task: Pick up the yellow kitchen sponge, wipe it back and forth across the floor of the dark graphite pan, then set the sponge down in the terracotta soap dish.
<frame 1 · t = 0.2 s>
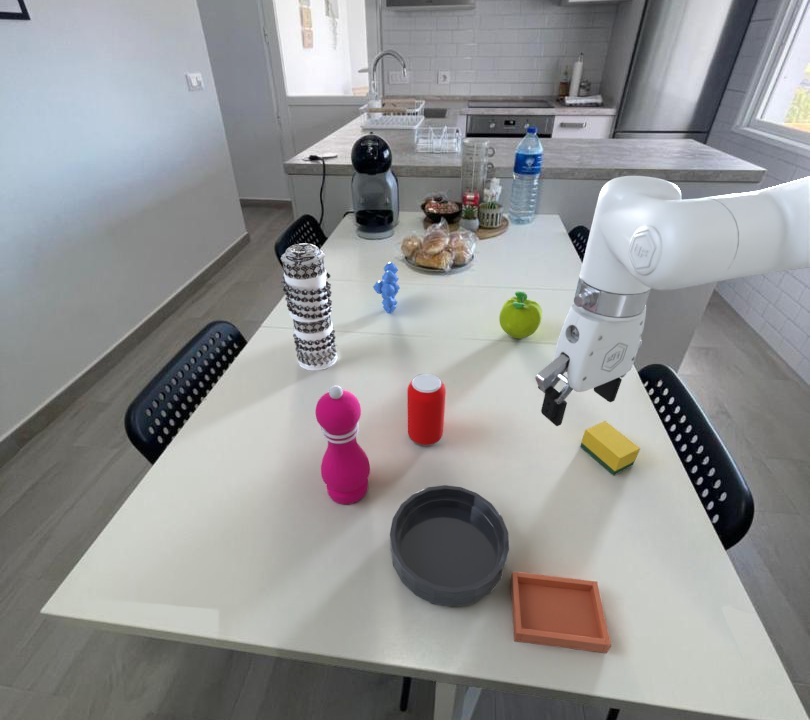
hand: (577, 407, 61), 15 cm above the table, tool pointing down, fingers open, 9 cm apart
pan: (447, 550, 60), on the table
pepper mill: (348, 488, 69), on the table
sponge: (605, 455, 74), on the table
grapes: (387, 309, 115), on the table
fruit: (517, 336, 104), on the table
beverage can: (425, 436, 78), on the table
decorative candle: (317, 359, 97), on the table
soap dish: (555, 614, 53), on the table
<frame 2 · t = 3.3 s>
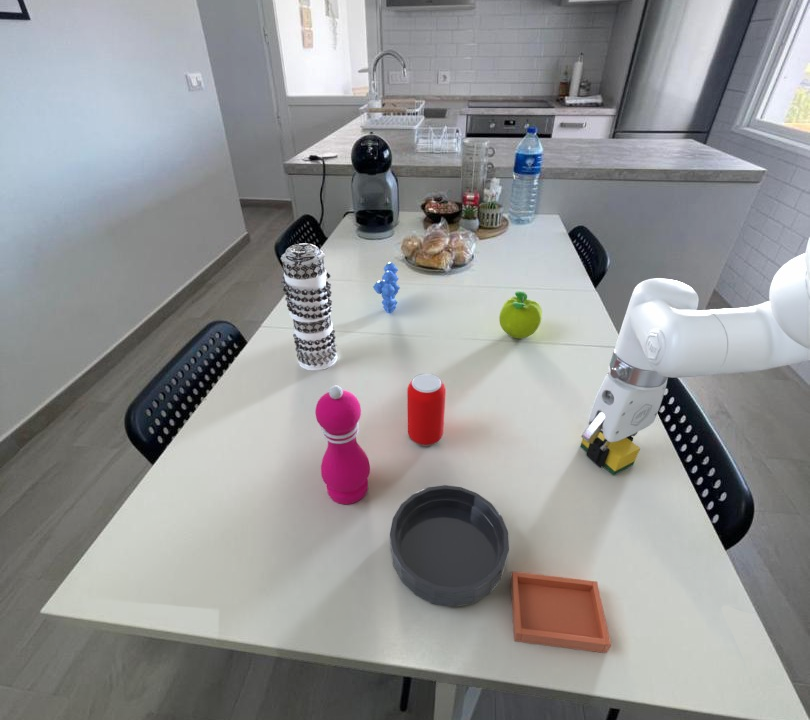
hand: (606, 454, 73), 0 cm above the table, tool pointing down, fingers closed on sponge, 4 cm apart
sponge: (605, 455, 74), on the table, touching gripper
everything else where it was.
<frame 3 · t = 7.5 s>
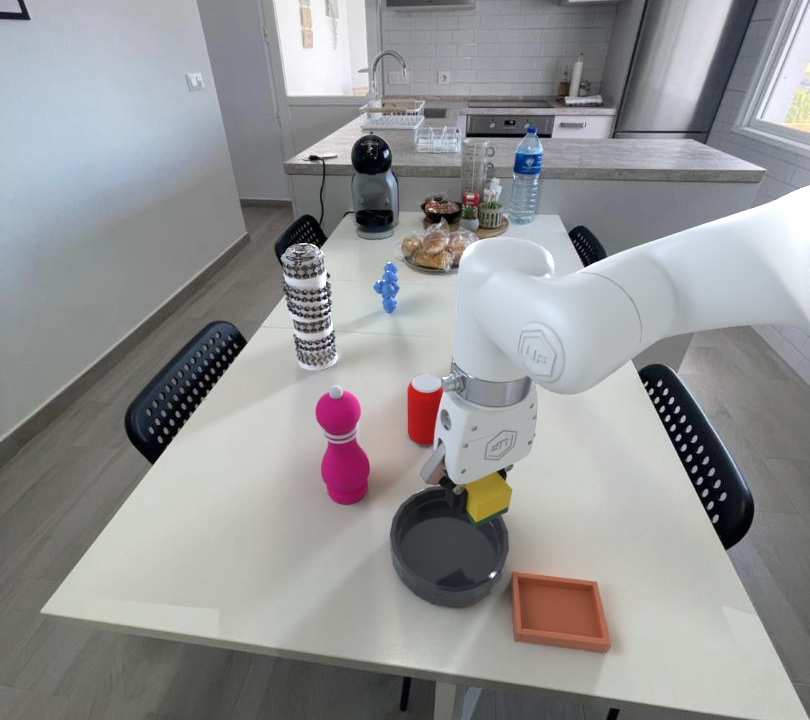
hand: (474, 495, 52), 12 cm above the table, tool pointing down, fingers closed on sponge, 4 cm apart
sponge: (474, 496, 53), point 12 cm above the table, touching gripper
everything else where it was.
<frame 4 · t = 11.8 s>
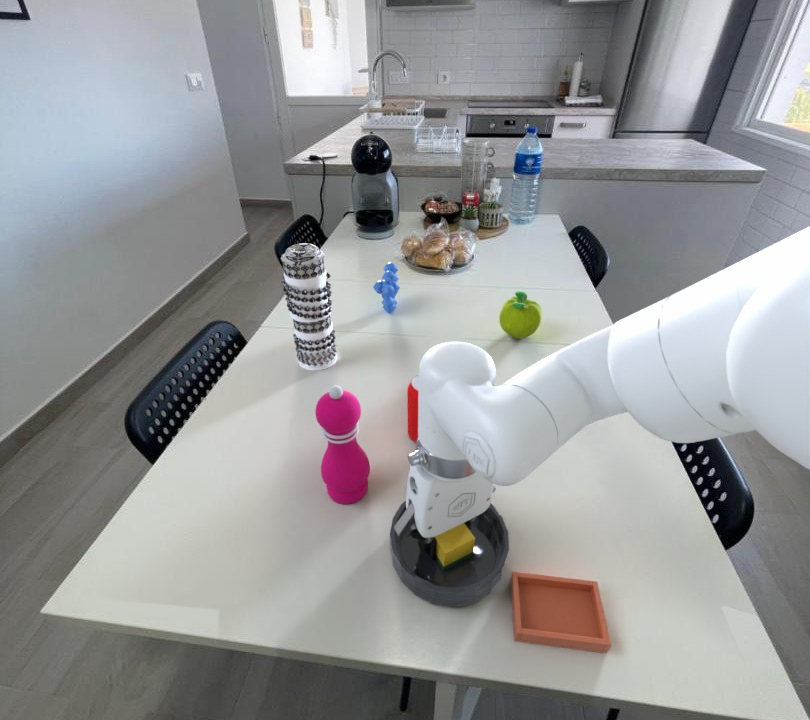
hand: (444, 540, 60), 1 cm above the table, tool pointing down, fingers closed on sponge, 4 cm apart
sponge: (444, 541, 60), point 1 cm above the table, touching gripper
everything else where it was.
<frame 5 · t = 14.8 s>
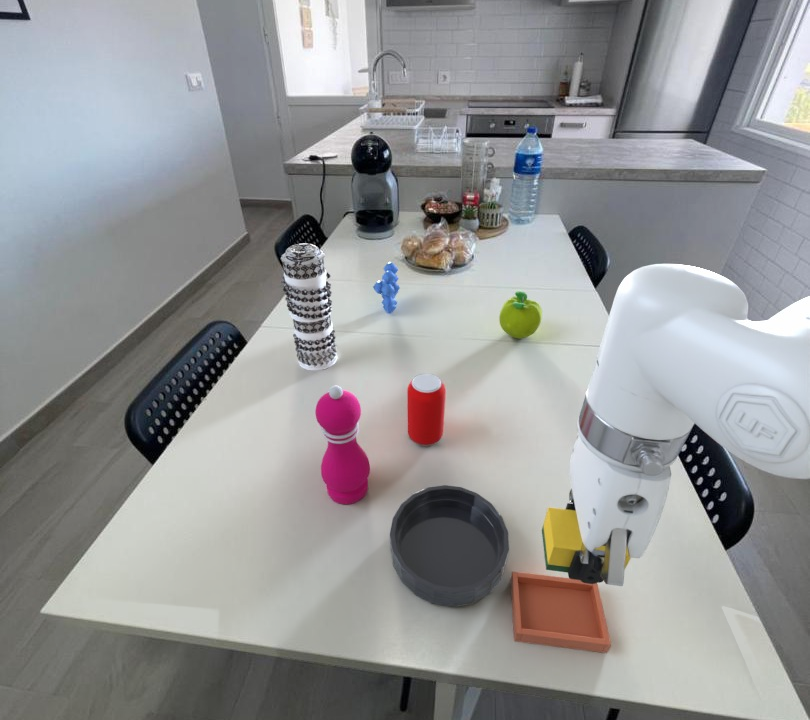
hand: (580, 551, 46), 13 cm above the table, tool pointing down, fingers closed on sponge, 4 cm apart
sponge: (578, 553, 46), point 13 cm above the table, touching gripper
everything else where it was.
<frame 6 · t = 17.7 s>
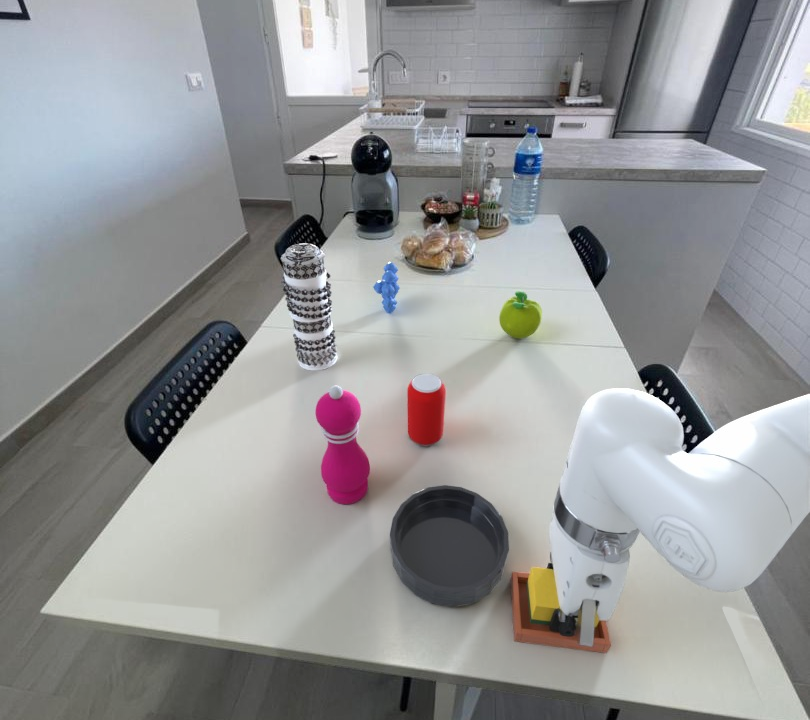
hand: (560, 605, 52), 2 cm above the table, tool pointing down, fingers closed on sponge, 4 cm apart
sponge: (558, 607, 52), point 2 cm above the table, touching gripper
everything else where it was.
when the fingers open (2 cm above the table, at t = 20.3 s): sponge drops 1 cm, resting on soap dish.
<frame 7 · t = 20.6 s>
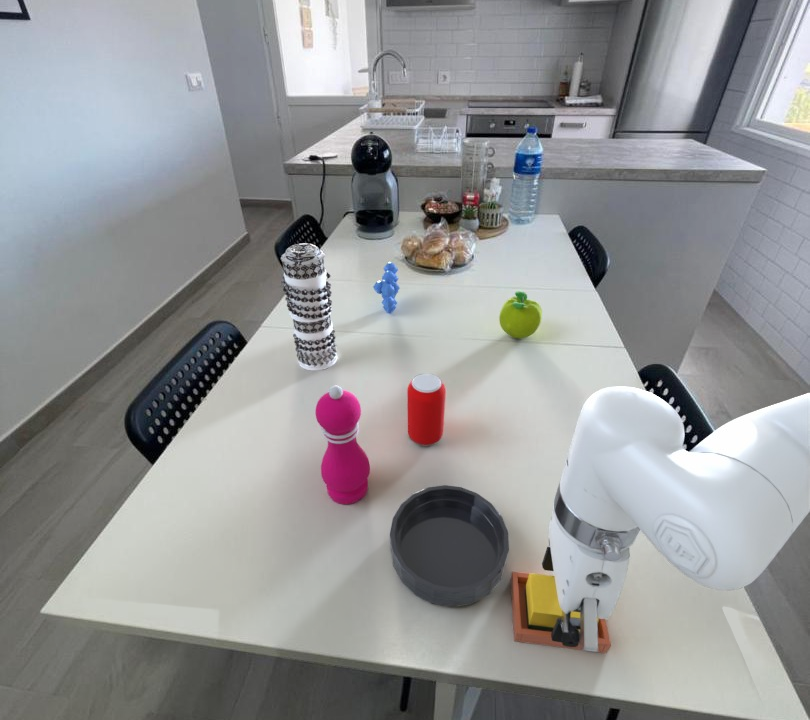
hand: (560, 601, 52), 3 cm above the table, tool pointing down, fingers open, 7 cm apart
sponge: (556, 612, 53), resting on soap dish
everything else where it was.
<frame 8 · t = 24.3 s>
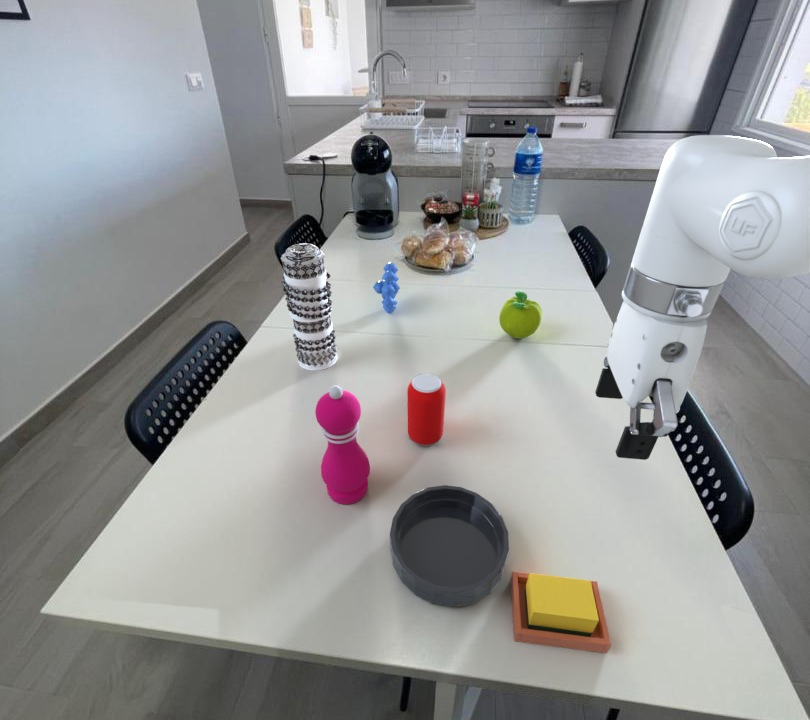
hand: (618, 424, 51), 20 cm above the table, tool pointing down, fingers open, 9 cm apart
nothing on the table moved.
at the end: sponge 0.1 cm off-centre in the soap dish, point 0.5 cm above the soap dish's base; sponge tilted 0°; the gripper is holding nothing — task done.
